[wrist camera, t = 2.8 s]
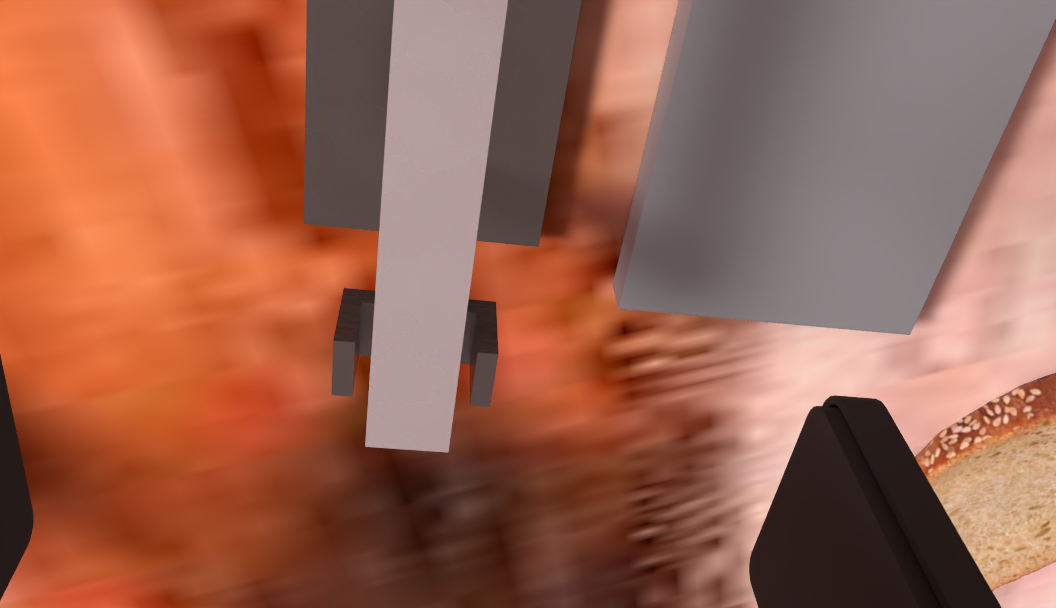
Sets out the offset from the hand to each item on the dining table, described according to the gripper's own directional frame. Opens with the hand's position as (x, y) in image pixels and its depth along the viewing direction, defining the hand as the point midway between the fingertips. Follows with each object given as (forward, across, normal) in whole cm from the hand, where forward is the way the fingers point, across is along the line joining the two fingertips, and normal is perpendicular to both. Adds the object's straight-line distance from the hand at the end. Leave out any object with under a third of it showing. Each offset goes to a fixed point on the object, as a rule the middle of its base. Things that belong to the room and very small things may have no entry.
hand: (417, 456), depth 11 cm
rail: (+15, 0, 0) cm, 15 cm away
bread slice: (+29, -34, +26) cm, 52 cm away
